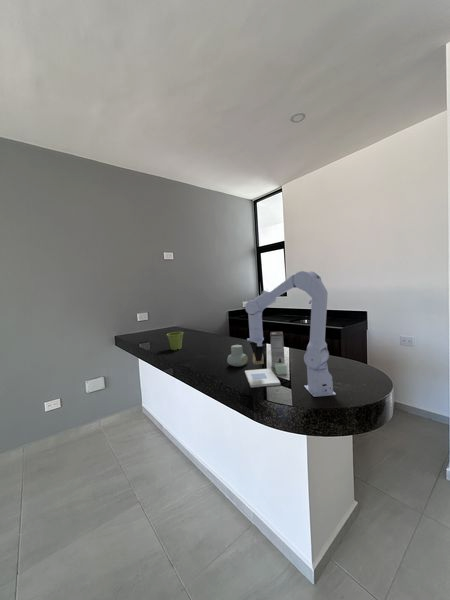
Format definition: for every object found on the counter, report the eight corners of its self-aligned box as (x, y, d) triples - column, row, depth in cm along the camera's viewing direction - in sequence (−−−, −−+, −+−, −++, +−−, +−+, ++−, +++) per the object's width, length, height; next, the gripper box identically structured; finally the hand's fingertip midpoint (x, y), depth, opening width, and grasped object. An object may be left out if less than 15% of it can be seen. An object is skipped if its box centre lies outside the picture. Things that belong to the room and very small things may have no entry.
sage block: (286, 374, 112) (286, 365, 112) (277, 374, 112) (277, 365, 112) (284, 371, 116) (283, 362, 116) (275, 371, 116) (275, 363, 116)
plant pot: (164, 349, 178) (163, 334, 177) (178, 346, 186) (177, 331, 185) (173, 352, 169) (172, 335, 168) (187, 348, 177) (186, 332, 176)
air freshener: (240, 369, 123) (239, 348, 123) (225, 367, 127) (224, 348, 127) (249, 362, 133) (248, 344, 132) (235, 361, 137) (234, 343, 136)
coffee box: (272, 362, 131) (270, 331, 131) (284, 361, 130) (282, 331, 129) (271, 367, 122) (269, 334, 122) (285, 367, 121) (283, 334, 120)
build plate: (280, 384, 100) (280, 382, 100) (250, 387, 99) (250, 384, 99) (270, 370, 118) (270, 368, 118) (244, 372, 117) (244, 370, 117)
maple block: (263, 363, 106) (263, 354, 106) (254, 364, 106) (253, 355, 106) (261, 361, 110) (261, 352, 110) (253, 361, 110) (252, 352, 110)
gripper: (244, 326, 115) (246, 355, 115) (249, 331, 100) (251, 365, 101) (259, 325, 115) (261, 354, 115) (266, 330, 101) (268, 363, 101)
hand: (257, 359), depth 108 cm, fingers closed on maple block, 4 cm apart
